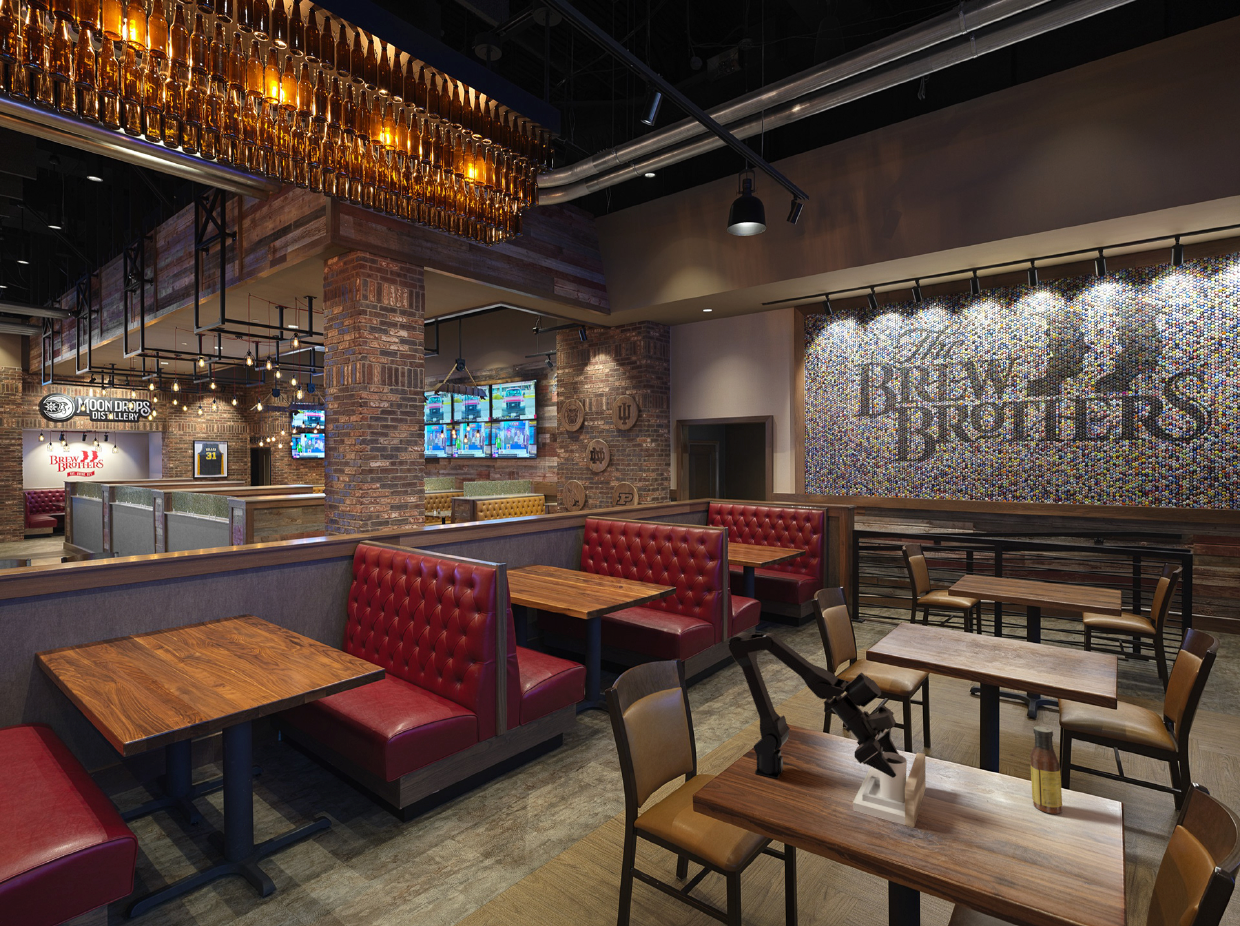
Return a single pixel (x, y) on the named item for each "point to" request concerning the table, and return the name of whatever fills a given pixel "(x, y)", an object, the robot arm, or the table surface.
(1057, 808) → the sauce bottle
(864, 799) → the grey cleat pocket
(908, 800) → the ash wall board
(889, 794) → the white coffee cup
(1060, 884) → the table surface
